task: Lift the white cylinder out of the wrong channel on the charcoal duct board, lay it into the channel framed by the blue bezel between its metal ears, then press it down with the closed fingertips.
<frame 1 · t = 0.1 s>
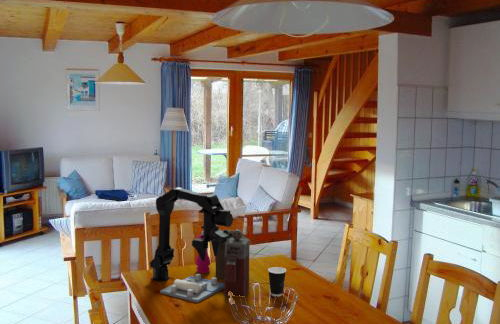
hand: (209, 258, 218), 14 cm above the table, tool pointing down, fingers open, 9 cm apart
dark jug: (236, 294, 217), on the table
dixie cup: (276, 294, 217), on the table
white cylinder: (187, 286, 216), point 3 cm above the table, touching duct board
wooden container: (230, 275, 240), on the table
pepper mill: (203, 271, 246), on the table
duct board: (194, 289, 221), on the table
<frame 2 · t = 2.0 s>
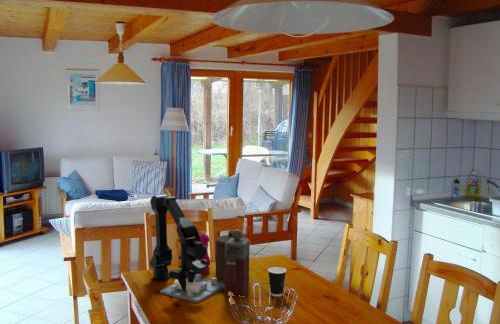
hand: (187, 288, 216), 2 cm above the table, tool pointing down, fingers closed on white cylinder, 4 cm apart
white cylinder: (187, 286, 216), point 3 cm above the table, touching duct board, gripper
everything else where it was.
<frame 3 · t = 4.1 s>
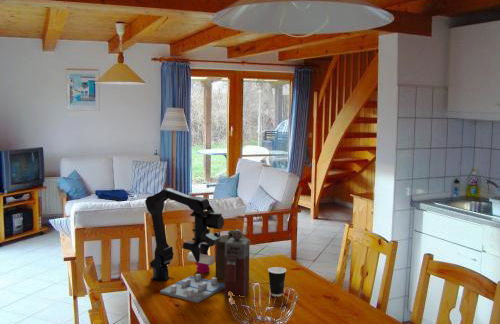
hand: (200, 260, 223), 12 cm above the table, tool pointing down, fingers closed on white cylinder, 4 cm apart
white cylinder: (200, 258, 223), point 13 cm above the table, touching gripper
everything else where it was.
when the fingers open (3 cm above the table, at t = 6.0 s): white cylinder drops 1 cm, resting on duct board.
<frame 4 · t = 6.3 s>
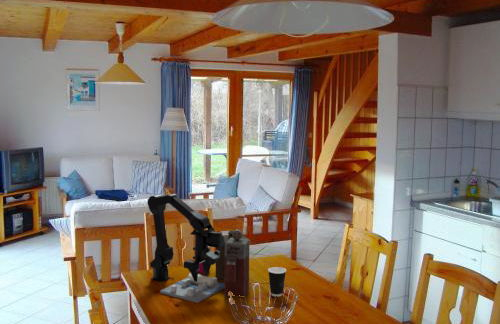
hand: (201, 279, 225), 3 cm above the table, tool pointing down, fingers open, 7 cm apart
white cylinder: (200, 279, 224), point 3 cm above the table, tilted 6°, touching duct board
everything else where it was.
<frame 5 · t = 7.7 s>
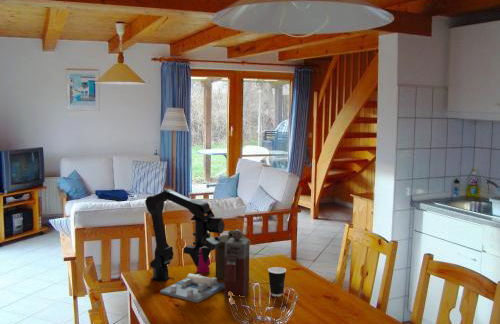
hand: (201, 264, 224), 10 cm above the table, tool pointing down, fingers open, 6 cm apart
white cylinder: (199, 280, 224), point 3 cm above the table, tilted 28°, touching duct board
everything else where it was.
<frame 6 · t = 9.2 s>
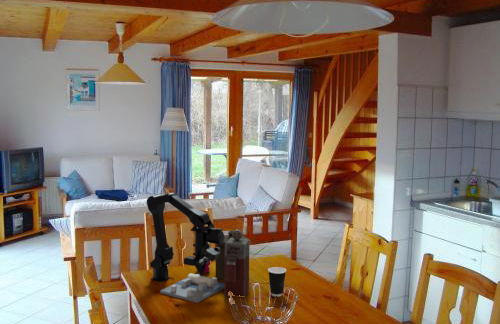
hand: (201, 275, 224), 5 cm above the table, tool pointing down, fingers closed
white cylinder: (200, 280, 224), point 3 cm above the table, tilted 16°, touching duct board, gripper
everything else where it was.
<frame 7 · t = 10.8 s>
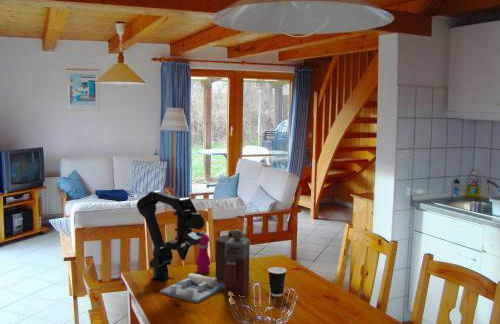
hand: (183, 260, 224), 12 cm above the table, tool pointing down, fingers closed
white cylinder: (201, 280, 224), point 3 cm above the table, tilted 6°, touching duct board
everything else where it was.
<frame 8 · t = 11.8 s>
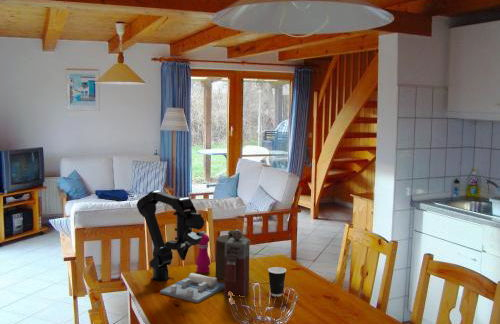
hand: (183, 260, 224), 12 cm above the table, tool pointing down, fingers closed
nothing on the table moved.
at the end: white cylinder 0.3 cm from the target spot on the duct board, point 3.2 cm above the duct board's base; the gripper is holding nothing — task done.
